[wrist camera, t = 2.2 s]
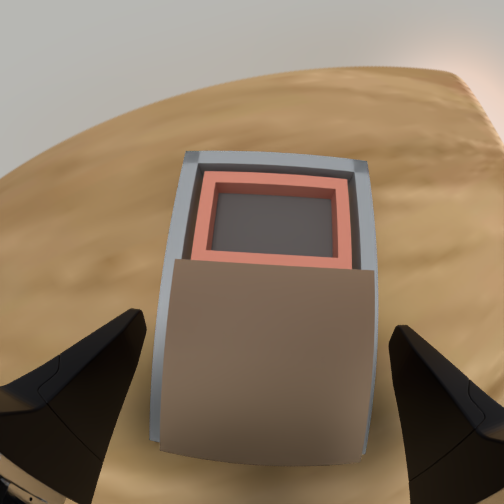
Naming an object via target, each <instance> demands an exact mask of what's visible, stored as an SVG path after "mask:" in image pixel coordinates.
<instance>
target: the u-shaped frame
mask: <svg viewBox="0 0 504 504" xmlns="http://www.w3.org/2000/svg"><path fill="white" fill-rule="evenodd" d="M205 171H222V172H256V173H276V174H292V175H306V176H319V177H330V178H340V179H347V184H348V196H349V210H350V226H351V250H352V269H357V270H374V273H375V333H374V355H373V370H372V383H371V393H370V402H369V411H368V419H367V426H366V433H365V439H364V445H363V451H362V454H365V452H366V447H367V441H368V434H369V428H370V421H371V413H372V405H373V396H374V386H375V374H376V360H377V340H378V269H377V249H376V234H375V222H374V211H373V202H372V193H371V185H370V178H369V171H368V164H367V161H362V160H354V159H346V158H337V157H327V156H317V155H305V154H292V153H275V152H252V151H186V153H185V157H184V161H183V166H182V170H181V174H180V179H179V184H178V188H177V193H176V198H175V203H174V208H173V213H172V218H171V224H170V229H169V235H168V241H167V247H166V253H165V259H164V266H163V272H162V279H161V287H160V294H159V302H158V311H157V320H156V329H155V340H154V351H153V364H152V379H151V398H150V438H149V440H151V441H155V442H160V412H161V390H162V374H163V360H164V347H165V336H166V326H167V317H168V308H169V299H170V291H171V283H172V276H173V268H174V261H175V259H187V260H191V254H192V247H193V240H194V233H195V227H196V220H197V214H198V208H199V201H200V195H201V190H202V184H203V178H204V173H205Z"/></svg>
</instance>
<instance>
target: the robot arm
mask: <svg viewBox="0 0 504 504" xmlns="http://www.w3.org/2000/svg"><path fill="white" fill-rule="evenodd" d="M146 331H147V328H146V323H145V319H144V316H143V312H142V311H141V310H140V309H133V308H131V309H129V310H127V311H126V312H124V313H123V314H121V315H119V316H118V317H116V318H115V319H113V320H112V321H110V322H109V323H107V324H105V325H104V326H102V327H101V328H99V329H98V330H96V331H95V332H93V333H91V334H90V335H88V336H87V337H85V338H84V339H82V340H81V341H79V342H78V343H76V344H74V345H73V346H71V347H70V348H68V349H67V350H65V351H64V352H62V353H61V354H60V355H58V356H56V357H54V358H53V359H51V360H50V361H48V362H47V363H45V364H43V365H42V366H40V367H38V368H37V369H35V370H33V371H31V372H29V373H28V374H26V375H24V376H22V377H20V378H18V379H16V380H14V381H13V382H11V383H9V384H7V385H4V386H0V504H64V503H65V500H66V498H68V499H70V500H72V501H74V502H76V503H78V504H91V503H92V499H93V495H94V492H95V488H96V485H97V481H98V478H99V475H100V471H101V468H102V465H103V461H104V458H105V455H106V452H107V449H108V446H109V443H110V440H111V437H112V434H113V431H114V428H115V425H116V422H117V419H118V416H119V414H120V411H121V408H122V405H123V403H124V400H125V397H126V394H127V392H128V389H129V386H130V384H131V381H132V379H133V376H134V373H135V371H136V368H137V365H138V361H139V357H140V354H141V350H142V346H143V343H144V339H145V335H146ZM389 355H390V363H391V371H392V380H393V386H394V391H395V396H396V401H397V406H398V411H399V416H400V422H401V428H402V434H403V440H404V447H405V454H406V461H407V470H408V479H409V491H410V504H504V407H502V406H501V405H500V404H498V403H497V402H496V401H495V400H493V399H492V398H491V397H490V396H488V395H487V394H486V393H485V392H483V391H482V390H481V389H480V388H479V387H478V386H477V385H475V384H474V383H473V382H472V381H471V380H469V378H468V377H467V376H465V375H464V374H463V373H462V372H461V371H460V370H459V369H458V368H457V367H455V366H454V365H453V364H452V363H451V362H450V361H449V360H447V359H446V358H445V357H444V356H443V355H442V354H441V353H439V352H438V351H437V350H436V349H435V348H434V347H433V346H431V345H430V344H429V343H428V342H427V341H426V340H424V339H423V338H422V337H421V336H420V335H418V334H417V333H416V332H415V331H414V330H413V329H411V328H410V327H409V326H408V325H397V326H396V327H395V329H394V332H393V334H392V336H391V339H390V341H389Z"/></svg>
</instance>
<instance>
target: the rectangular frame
mask: <svg viewBox="0 0 504 504" xmlns="http://www.w3.org/2000/svg"><path fill="white" fill-rule="evenodd" d="M191 260H202V261H217V262H233V263H249V264H265V265H283V266H300V267H319V268H338V269H352V250H351V226H350V210H349V196H348V184H347V179H340V178H330V177H319V176H306V175H292V174H276V173H256V172H222V171H205V173H204V178H203V184H202V190H201V195H200V201H199V208H198V214H197V220H196V227H195V233H194V240H193V247H192V254H191Z"/></svg>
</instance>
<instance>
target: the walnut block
mask: <svg viewBox="0 0 504 504" xmlns="http://www.w3.org/2000/svg"><path fill="white" fill-rule="evenodd" d="M374 333H375V273H374V270H357V269H338V268H319V267H300V266H283V265H265V264H249V263H233V262H217V261H202V260H187V259H175V261H174V268H173V276H172V283H171V291H170V299H169V308H168V317H167V326H166V336H165V347H164V360H163V374H162V390H161V412H160V451H164V452H169V453H173V454H178V455H183V456H188V457H194V458H200V459H206V460H213V461H220V462H228V463H238V464H249V465H265V466H324V465H339V464H350V463H360V462H361V457H362V451H363V445H364V439H365V433H366V426H367V419H368V411H369V402H370V393H371V383H372V370H373V355H374Z"/></svg>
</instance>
